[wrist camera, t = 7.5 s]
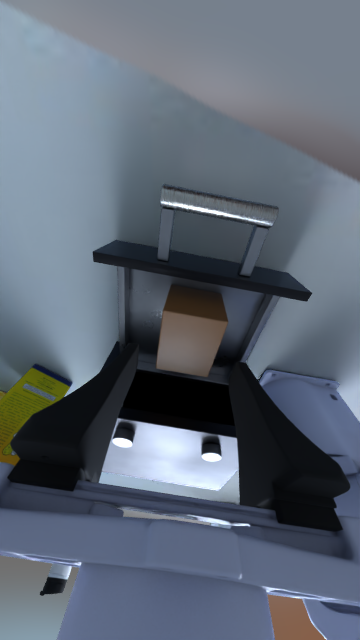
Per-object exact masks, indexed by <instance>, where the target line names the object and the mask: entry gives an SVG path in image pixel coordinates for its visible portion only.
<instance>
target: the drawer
mask: <svg viewBox="0 0 360 640" xmlns="http://www.w3.org/2000/svg"><path fill="white" fill-rule="evenodd" d="M160 205H161V207H163V208H162V210H161V221H160V232H159V242H158V248H156V247H151V246H146V245H140V244H135V243H130V242H125V241H119V240H115V241H113V242H111V243H109V244H107V245H105V246H103V247H101V248H99V249H97V250H95V251H93V260H94V262H98V263H103V264H108V265H114V266H117V271H118V306H119V340H120V353H121V352H122V351H123V350H124V349H125V348H126V346H127V345H128V344H129V343H137V344H139V354H138V365H137V369H136V372H141V373H147V374H152V375H158V376H164V377H170V378H175V379H181V380H187V381H193V382H198V383H204V384H210V385H216V386H221V387H227V388H229V380H228V379H229V377H230V375H231V373H232V371H233V369H234V367H235V365H236V363H237V361H239V362H246V360H247V358H248V356H249V354H250V353H251V351H252V349H253V347H254V345H255V343H256V341H257V339H258V337H259V335H260V333H261V332H262V330H263V328H264V326H265V324H266V322H267V320H268V318H269V316H270V314H271V312H272V311H273V309H274V307H275V305H276V303H277V301H278V299H279V297H285V298H290V299H295V300H301V301H306V302H307V301H308V299H309V298H310V296H311V294H312V293H311V292H310V291H309V290H308V289H307V288H305V287H304V286H303V285H302V284H301V283H299V282H298V281H297V280H296V279H295V278H293V277H292V276H291V275H290V274H289V273H287V272H282V271H277V270H272V269H266V268H261V267H256V266H255V263H256V261H257V258H258V256H259V253H260V251H261V248H262V246H263V243H264V241H265V238H266V236H267V233H268V231H269V229H268V228H271V227H272V226H273V224H274V223H275V221H276V218H277V215H278V211H279V209H278V207H277V206H272V205H267V204H262V203H257V202H252V201H247V200H242V199H237V198H232V197H227V196H222V195H217V194H212V193H207V192H202V191H197V190H192V189H187V188H182V187H177V186H172V185H167V184H163V185H162V188H161V196H160ZM175 210H178V211H183V212H188V213H193V214H198V215H203V216H209V217H214V218H219V219H224V220H229V221H234V222H239V223H244V224H249V225H254V227H253V230H252V233H251V235H250V238H249V241H248V244H247V247H246V250H245V253H244V255H243V258H242V261H241V264H240V263H235V262H230V261H224V260H219V259H214V258H209V257H203V256H198V255H193V254H188V253H182V252H177V251H172V250H170V249H171V241H172V233H173V226H174V218H175ZM171 285H177V286H182V287H188V288H193V289H198V290H204V291H209V292H215V293H220V294H222V297H223V301H224V305H225V309H226V313H227V318H228V325H227V328H226V330H225V333H224V336H223V338H222V341H221V343H220V346H219V349H218V351H217V354H216V356H215V359H214V362H213V364H212V367H211V370H210V372H209V375H208V377H202V376H196V375H190V374H185V373H179V372H173V371H167V370H162V369H156V359H157V352H158V344H159V336H160V329H161V321H162V313H163V308H164V305H165V302H166V299H167V295H168V292H169V289H170V286H171Z"/></svg>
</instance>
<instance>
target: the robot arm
mask: <svg viewBox="0 0 360 640" xmlns="http://www.w3.org/2000/svg"><path fill="white" fill-rule="evenodd" d="M138 354H139V344H137V343H129V344H128V345H127V346H126V348H125V349H124V350H123V351H122V352H121V353H120V354H119V355H118V356H117V357H116V358H115V359H114V360H113V361H112V362H111V363H110V364H109V365H108V366H107V367H106V368H104V369H103V370H102V371H101V372H100V373H99V374H97V375H96V376H95V377H94V378H92V379H91V380H90V381H88V382H87V383H86V384H84V385H83V386H81V387H80V388H78V389H77V390H75V391H74V392H72V393H71V394H69V395H67V396H66V397H64V398H62V399H61V400H59V401H57V402H55V403H54V404H52V405H50V406H48V407H46V408H44V409H42V410H40V411H38V412H36V413H34V414H33V415H32V416H31V417H30V418H29V419H28V420H27V421H26V422H25V424H24V425H23V426H22V427H21V429H20V430H19V431H18V432H17V434H16V435H15V436H14V438H13V439H12V440H11V442H10V446H11V448H12V449H13V451H14V452H15V453H16V454H17V456H18V457H19V458H20V460H19V461H18V462H17V464H16V465H15V466H14V465H12V464H9V463H4V462H0V555H2V556H9V557H15V558H21V559H28V560H35V561H41V562H47V563H53V564H60V565H66V566H73V567H79V571H78V574H77V578H76V580H75V584H74V587H73V590H72V593H71V596H70V599H69V603H68V606H67V609H66V612H65V615H64V618H63V621H62V625H61V628H60V631H59V634H58V637H57V640H275V638H274V632H273V626H272V620H271V615H270V609H269V604H268V597H267V594H270V595H278V596H285V597H293V598H301V599H303V602H304V605H305V606H306V609H307V612H308V614H309V617H310V620H311V622H312V623H313V625H314V626H315V627H316V629H317V630H318V631H319V632H320V633H321V634H322V635H323V636H324V637H325V639H326V640H360V422H359V421H358V420H357V418H356V417H355V415H354V414H353V413H352V411H351V410H350V408H349V407H348V406H347V404H346V403H345V401H344V400H343V399H342V397H341V396H340V395H339V393H338V392H337V390H336V389H337V388H338V387H339V386H340V384H339V383H338V382H337V381H331V380H326V379H320V378H314V377H309V376H303V375H297V374H292V373H286V372H281V371H275V370H266V371H265V373H264V374H263V376H262V377H261V379H260V381H259V382H258V380H257V379H256V378H255V376H254V375H253V373H252V372H251V370H250V369H249V367H248V366H247V364H246V363H245V362H239V361H237V363H236V365H235V367H234V369H233V371H232V373H231V375H230V377H229V379H228V380H229V394H230V400H231V405H232V411H233V416H234V421H235V427H236V436H237V448H238V463H239V492H240V505H236V504H230V503H223V502H217V501H210V500H204V499H198V498H191V497H185V496H178V495H172V494H165V493H159V492H152V491H146V490H140V489H133V488H127V487H120V486H114V485H107V484H101V483H99V479H100V476H101V472H102V468H103V465H104V461H105V458H106V454H107V451H108V448H109V444H110V441H111V438H112V434H113V431H114V428H115V425H116V422H117V418H118V415H119V412H120V409H121V407H122V404H123V402H124V400H125V397H126V395H127V392H128V390H129V388H130V385H131V383H132V381H133V378H134V375H135V372H136V369H137V365H138ZM117 508H120V509H127V510H133V511H140V512H146V513H153V514H159V515H166V516H173V517H179V518H186V519H192V520H199V521H205V522H212V523H219V524H225V525H232V526H231V528H230V529H227V528H223V527H217V526H210V525H204V524H197V523H190V522H184V521H177V520H168V519H148V518H134V517H123V513H124V512H123V510H120V509H117Z"/></svg>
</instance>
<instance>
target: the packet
mask: <svg viewBox="0 0 360 640" xmlns="http://www.w3.org/2000/svg"><path fill="white" fill-rule="evenodd" d="M227 325H228V318H227V313H226V309H225V305H224V301H223V297H222V294H220V293H215V292H209V291H204V290H198V289H193V288H188V287H182V286H177V285H171V286H170V289H169V292H168V295H167V299H166V302H165V305H164V308H163V313H162V321H161V329H160V336H159V344H158V352H157V359H156V369H162V370H167V371H173V372H179V373H185V374H190V375H196V376H202V377H208V375H209V372H210V370H211V367H212V364H213V362H214V359H215V356H216V354H217V351H218V349H219V346H220V343H221V341H222V338H223V336H224V333H225V330H226V328H227Z"/></svg>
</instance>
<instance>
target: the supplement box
mask: <svg viewBox="0 0 360 640" xmlns="http://www.w3.org/2000/svg"><path fill="white" fill-rule="evenodd" d="M71 385H72V382H71V381H69V380H67V379H65V378H63V377H61V376H59V375H57V374H55V373H53V372H51V371H49V370H47V369H45V368H43V367H41V366H39V365H37V364H34V365H33V367H32V368H31V369H30V370H29V371H28V372H27V373H26V374H25V375H24V376H23V377H22V378H21V379H20V380H19V381H18V382H17V383H16V384H15V385H14V386H13V387H12V388H11V389H10V390H9V391H8V392H7V393H6V394H5V395H4V397H3V398H2V399H1V400H0V462H4V463H9V464H12V465H14V466H15V465H16V464H17V462H18V461H19V460H20V458H19V457H18V456H17V454H16V453H15V452H14V451H13V449H12V448H11V446H10V442H11V440H12V439H13V438H14V436H15V435H16V434H17V432H18V431H19V430H20V429H21V427H22V426H23V425H24V424H25V422H26V421H27V420H28V419H29V418H30V417H31V416H32V415H33V414H34V413H36V412H38V411H40V410H42V409H44V408H46V407H48V406H50V405H52V404H54V403H55V402H57V401H59V400H61V399H62V398H63V397H64V396H65V394H66V393H67V391H68V390H69V388H70V386H71Z"/></svg>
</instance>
